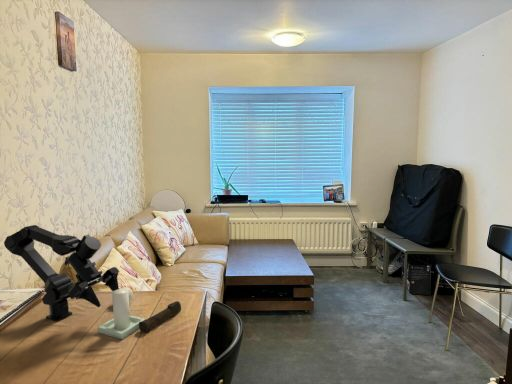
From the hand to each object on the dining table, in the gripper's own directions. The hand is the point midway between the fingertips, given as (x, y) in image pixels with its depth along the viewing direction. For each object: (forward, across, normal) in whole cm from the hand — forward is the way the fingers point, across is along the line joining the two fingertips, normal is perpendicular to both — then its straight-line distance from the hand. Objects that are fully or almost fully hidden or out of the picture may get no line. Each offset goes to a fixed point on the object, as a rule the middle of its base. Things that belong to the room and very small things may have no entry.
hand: (109, 300), depth 122 cm
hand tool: (+17, -9, +4) cm, 20 cm away
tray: (+10, 0, -3) cm, 11 cm away
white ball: (+1, -16, -13) cm, 21 cm away
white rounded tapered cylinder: (+10, 0, -2) cm, 10 cm away
